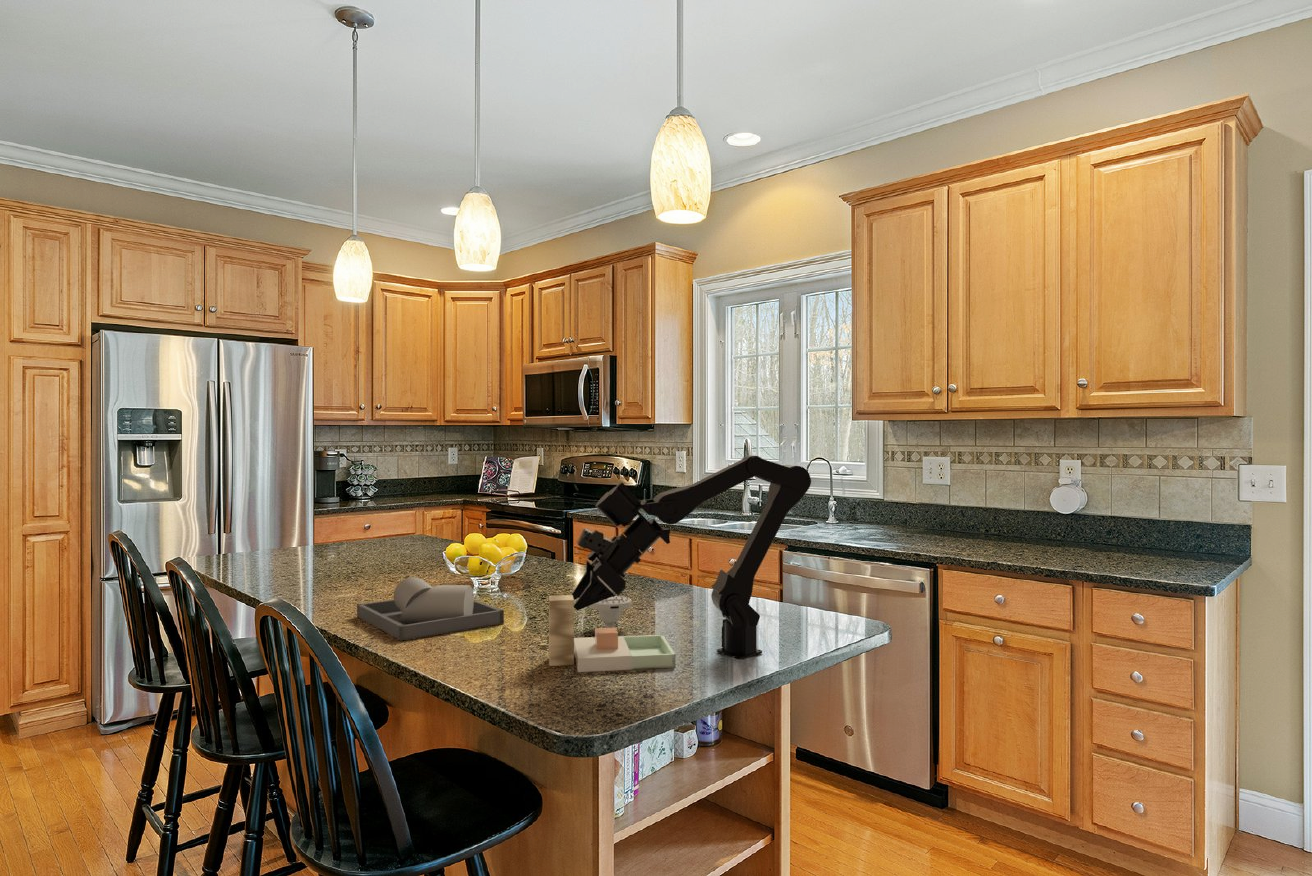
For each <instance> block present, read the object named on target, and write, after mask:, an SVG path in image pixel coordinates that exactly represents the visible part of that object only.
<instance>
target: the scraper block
mask: <svg viewBox="0 0 1312 876" xmlns="http://www.w3.org/2000/svg"><path fill="white" fill-rule="evenodd" d="M574 604H575V600H574V598H573V595H572V594H568V595H567V594H565V595H549V596H548V665H549V667H551V666H552V667H553V666H555V667H556V666H557V667H558V666H574V664H575V655H574V638H575V608H574Z"/></svg>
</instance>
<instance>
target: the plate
mask: <svg viewBox="0 0 1312 876" xmlns="http://www.w3.org/2000/svg"><path fill="white" fill-rule="evenodd" d="M574 661H575V663H576V669H577V672H578V673H586V672H587V673H588V672H607V671H609V672H610V671H611V672H612V671H630V670H632V654H631V652H630V650H629V648H628V646H627V644H626V641H625V639H624V637H623V635H618V649H601V650H597V649H596V646H595V636H594V637H593V636H591V637H574ZM632 671H633V670H632Z"/></svg>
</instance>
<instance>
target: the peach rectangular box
mask: <svg viewBox="0 0 1312 876" xmlns="http://www.w3.org/2000/svg"><path fill="white" fill-rule="evenodd" d="M618 636H619V632H618V629H617V627H615V628H605V627H600V628H599V627H595V628H594V637H595V646H596V649H597V650H601V649H618Z"/></svg>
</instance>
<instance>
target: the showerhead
mask: <svg viewBox="0 0 1312 876" xmlns="http://www.w3.org/2000/svg"><path fill="white" fill-rule="evenodd" d="M588 607H589V608H590V609H592V610H595V611H598V618H599V619H598V620H599V621H600V622H603V623H605V625H604V628H616V622H619V621H620V620H622V611H623V610H627V609H630V608H631V607H632V599H631V598H630V597H628V596H626V595H621V594H620V595H617V594H615V596H614V597H610V598H608V599H605V600H602V601H600V602H597V603H595V604H592V605H590V606H588Z"/></svg>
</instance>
